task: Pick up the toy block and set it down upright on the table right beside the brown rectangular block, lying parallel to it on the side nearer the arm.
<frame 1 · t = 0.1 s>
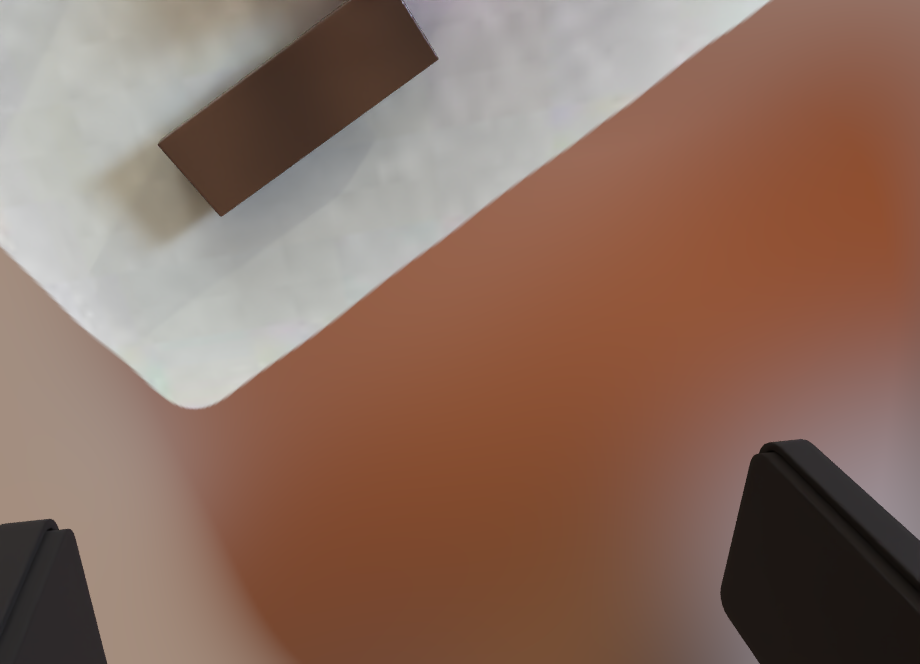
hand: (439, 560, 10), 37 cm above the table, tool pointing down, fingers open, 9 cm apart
brown rectangular block: (299, 94, 43), on the table
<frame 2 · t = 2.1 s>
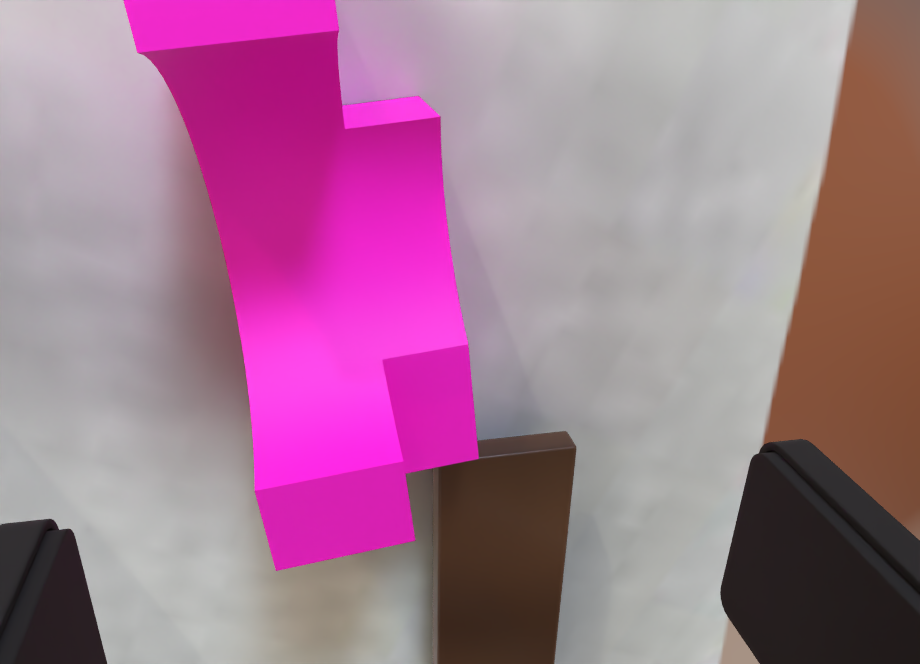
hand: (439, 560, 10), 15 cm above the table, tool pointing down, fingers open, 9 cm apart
toy block: (330, 199, 24), on the table
brown rectangular block: (484, 566, 31), on the table
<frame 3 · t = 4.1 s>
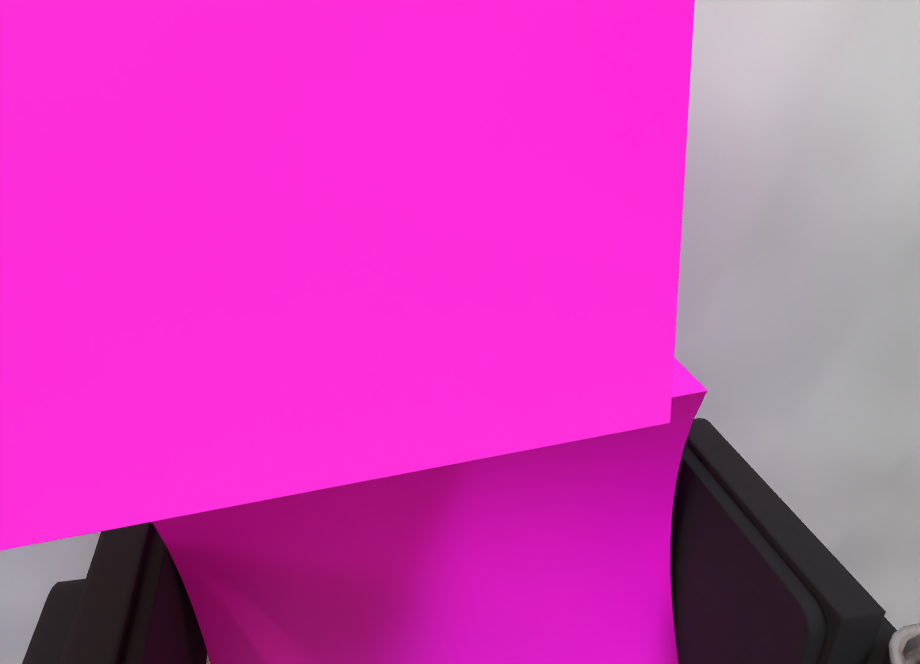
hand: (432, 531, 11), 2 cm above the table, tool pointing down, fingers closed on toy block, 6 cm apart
toy block: (413, 456, 13), on the table, touching gripper
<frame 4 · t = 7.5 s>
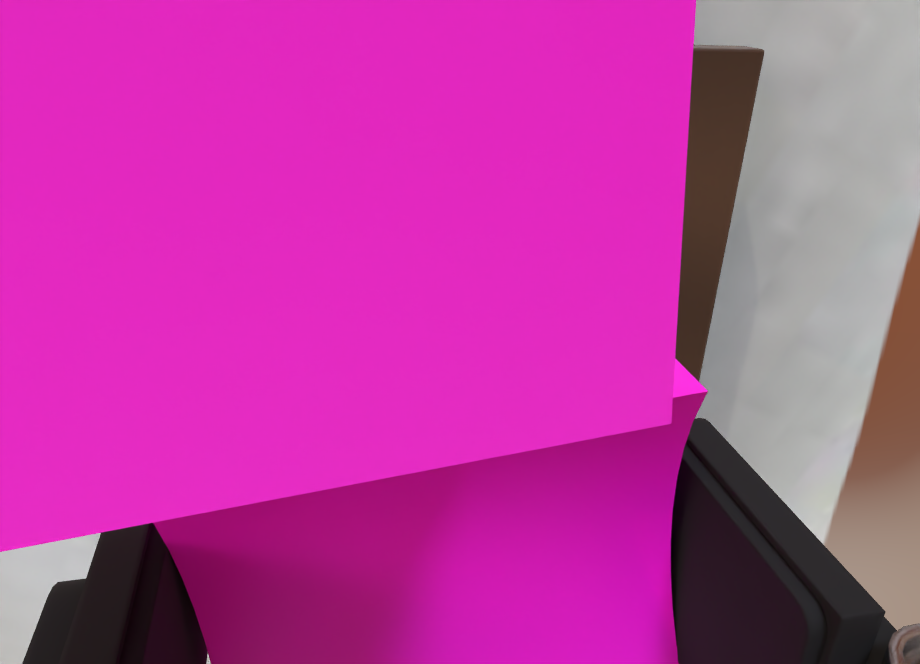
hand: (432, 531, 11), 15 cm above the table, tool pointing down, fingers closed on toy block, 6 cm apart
toy block: (414, 456, 13), point 13 cm above the table, touching gripper
brown rectangular block: (617, 264, 27), on the table
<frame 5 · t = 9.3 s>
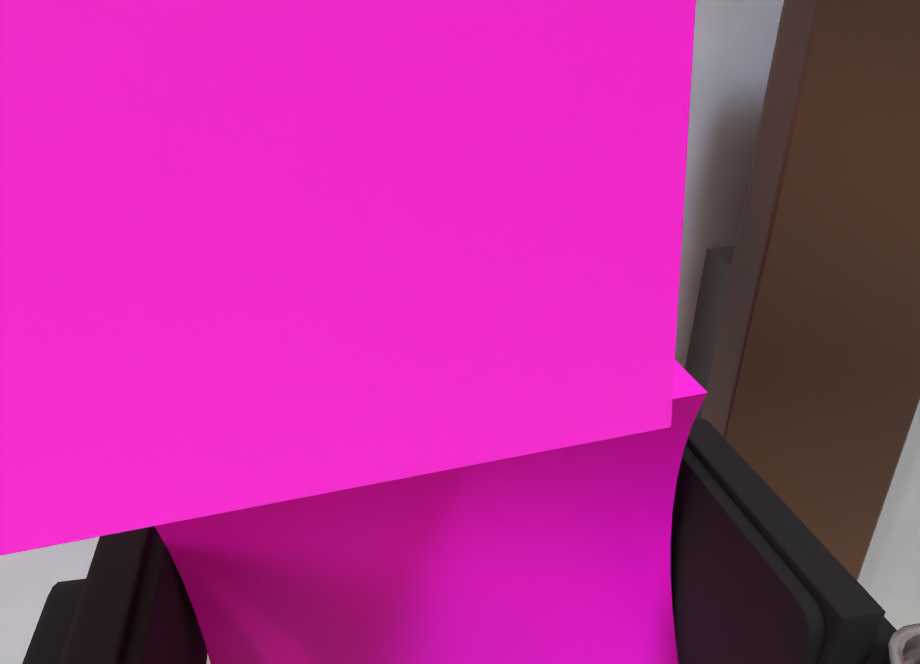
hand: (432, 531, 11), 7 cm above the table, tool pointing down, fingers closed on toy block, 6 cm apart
toy block: (414, 457, 13), point 5 cm above the table, touching gripper
brown rectangular block: (776, 300, 19), on the table
when the fingers open (2 cm above the table, at t = 11.0 s): toy block stays where it is, on the table.
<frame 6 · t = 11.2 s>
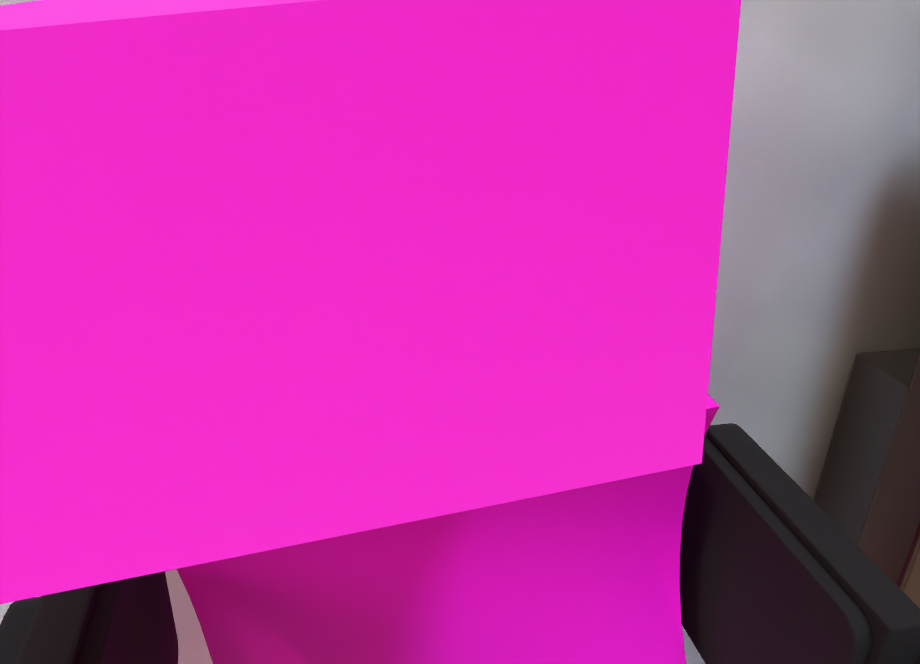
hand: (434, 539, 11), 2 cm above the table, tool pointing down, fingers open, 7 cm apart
toy block: (419, 466, 13), on the table
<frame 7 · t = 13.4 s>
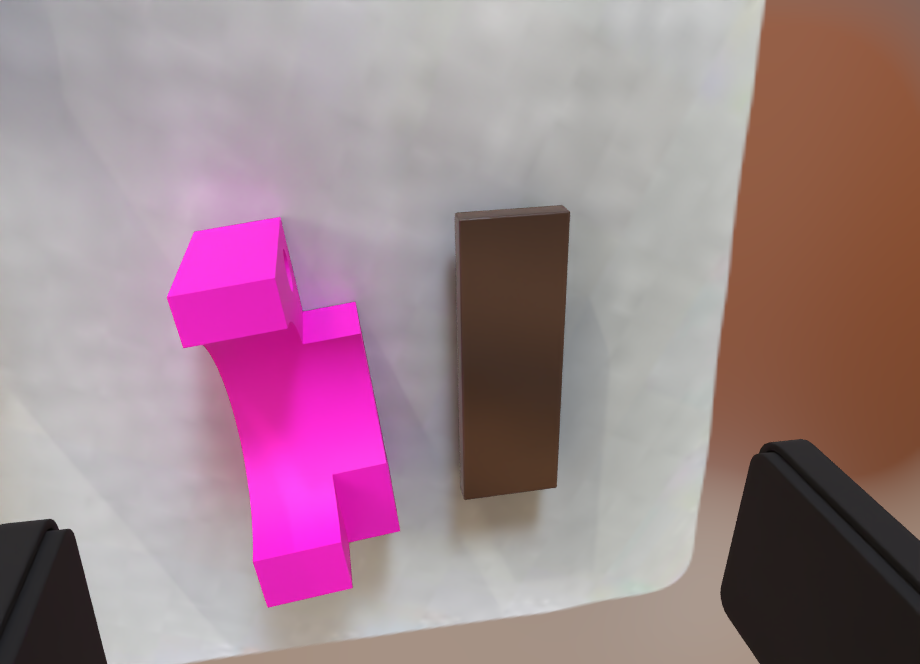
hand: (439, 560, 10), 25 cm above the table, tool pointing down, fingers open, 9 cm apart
toy block: (302, 364, 37), on the table
brown rectangular block: (500, 343, 38), on the table
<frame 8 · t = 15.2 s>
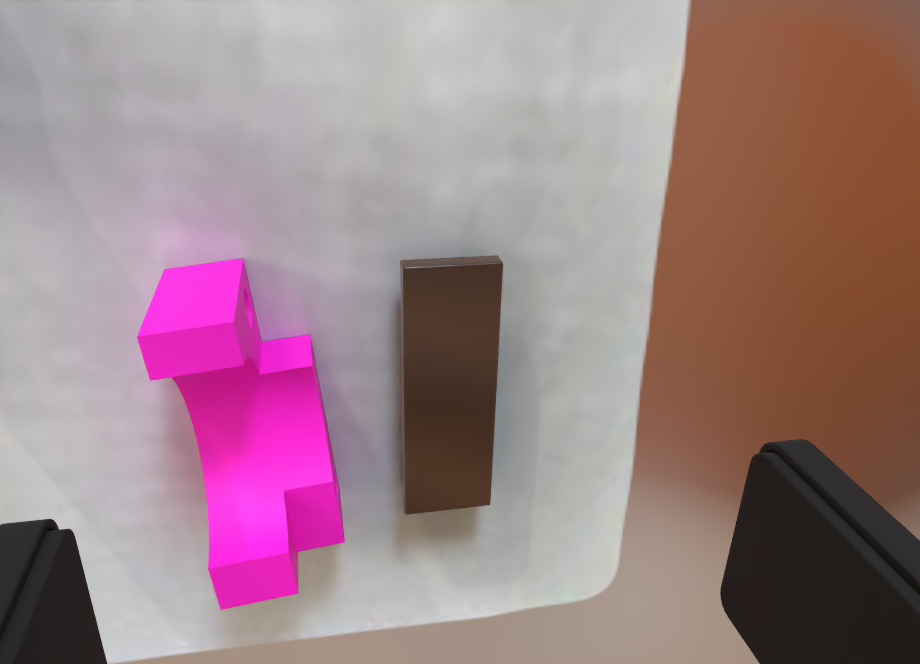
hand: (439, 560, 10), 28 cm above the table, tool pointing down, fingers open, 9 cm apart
toy block: (260, 388, 40), on the table
brown rectangular block: (442, 374, 42), on the table
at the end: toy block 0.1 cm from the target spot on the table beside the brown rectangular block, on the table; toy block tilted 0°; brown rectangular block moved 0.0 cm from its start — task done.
